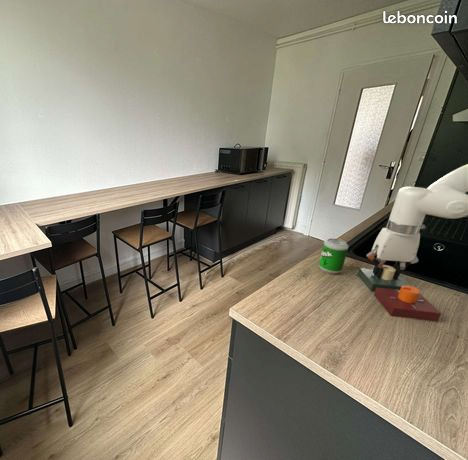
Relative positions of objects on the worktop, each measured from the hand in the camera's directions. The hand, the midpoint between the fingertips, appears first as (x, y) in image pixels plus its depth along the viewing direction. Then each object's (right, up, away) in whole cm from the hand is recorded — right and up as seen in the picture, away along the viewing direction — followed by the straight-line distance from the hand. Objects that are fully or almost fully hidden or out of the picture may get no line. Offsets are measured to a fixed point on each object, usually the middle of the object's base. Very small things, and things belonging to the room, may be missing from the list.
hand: (384, 276), depth 85 cm
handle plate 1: (0, -3, +1) cm, 3 cm away
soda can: (-12, 0, +11) cm, 16 cm away
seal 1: (0, 0, 0) cm, 0 cm away
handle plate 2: (-3, -8, -9) cm, 12 cm away
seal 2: (-3, -5, -11) cm, 12 cm away
